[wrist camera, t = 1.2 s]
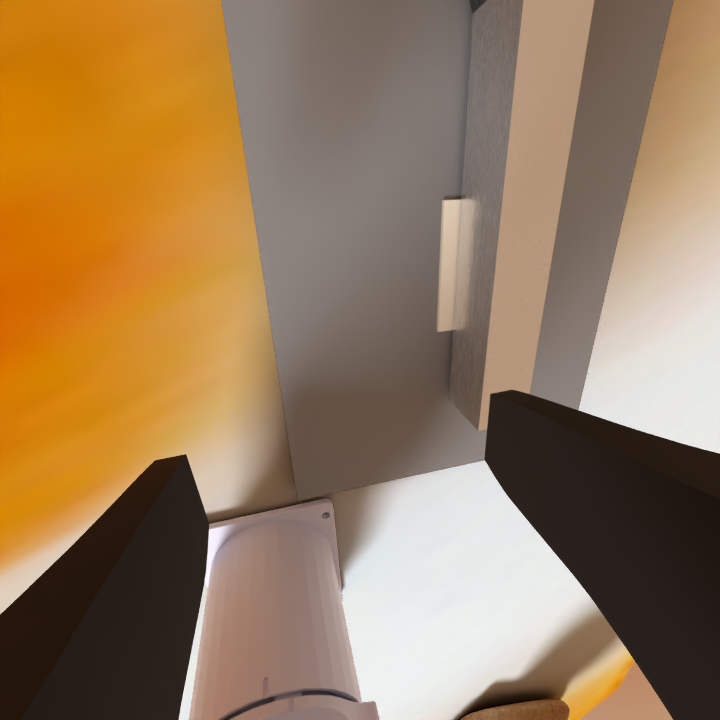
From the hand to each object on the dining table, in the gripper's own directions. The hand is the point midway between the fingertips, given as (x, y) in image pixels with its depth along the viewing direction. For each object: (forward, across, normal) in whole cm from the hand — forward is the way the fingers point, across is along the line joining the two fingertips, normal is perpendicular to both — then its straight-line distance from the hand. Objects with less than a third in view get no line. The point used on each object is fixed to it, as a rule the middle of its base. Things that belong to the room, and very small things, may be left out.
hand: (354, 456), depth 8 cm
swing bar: (+9, -8, -4) cm, 13 cm away
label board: (+10, -7, -2) cm, 13 cm away
